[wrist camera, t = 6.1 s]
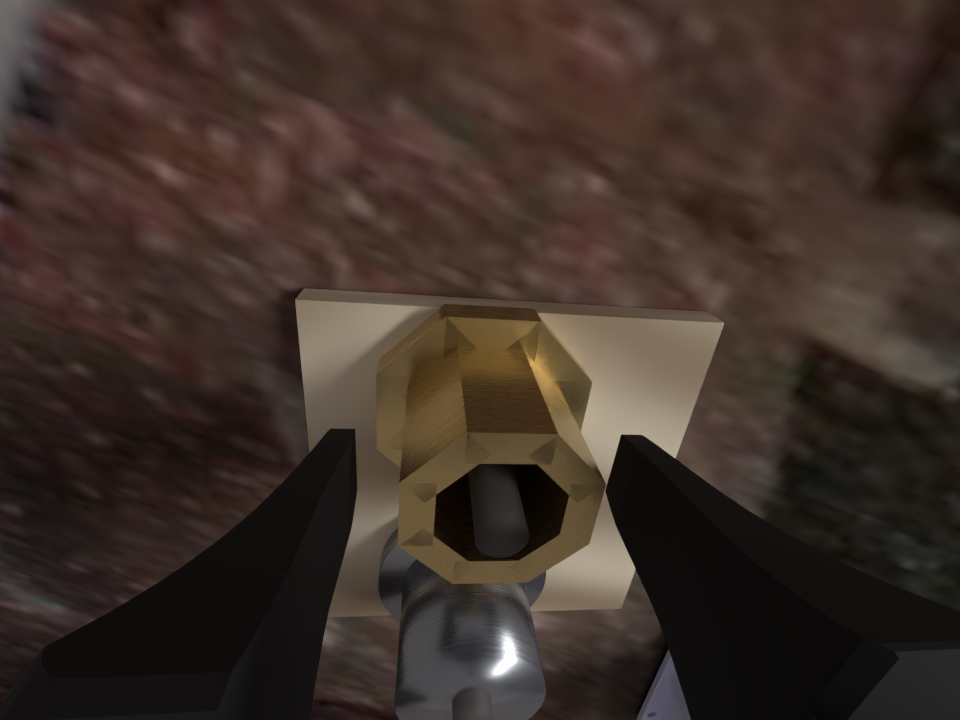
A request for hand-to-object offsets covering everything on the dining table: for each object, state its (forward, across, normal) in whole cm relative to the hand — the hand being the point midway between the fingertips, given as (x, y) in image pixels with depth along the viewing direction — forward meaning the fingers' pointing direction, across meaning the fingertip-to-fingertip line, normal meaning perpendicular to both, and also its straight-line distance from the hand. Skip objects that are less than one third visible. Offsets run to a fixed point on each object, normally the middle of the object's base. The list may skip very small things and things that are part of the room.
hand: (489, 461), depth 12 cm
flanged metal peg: (+3, 0, +8) cm, 8 cm away
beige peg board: (+4, -1, +4) cm, 6 cm away
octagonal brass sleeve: (+3, 0, 0) cm, 3 cm away
